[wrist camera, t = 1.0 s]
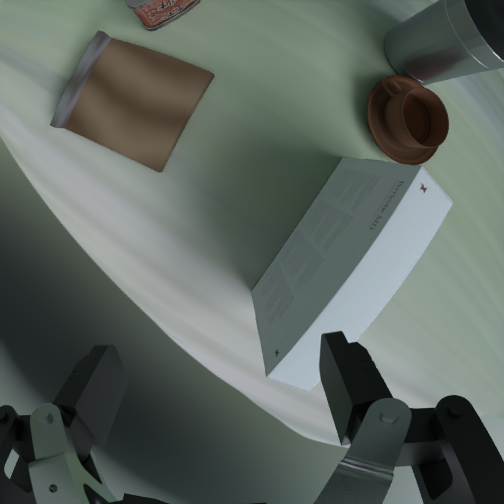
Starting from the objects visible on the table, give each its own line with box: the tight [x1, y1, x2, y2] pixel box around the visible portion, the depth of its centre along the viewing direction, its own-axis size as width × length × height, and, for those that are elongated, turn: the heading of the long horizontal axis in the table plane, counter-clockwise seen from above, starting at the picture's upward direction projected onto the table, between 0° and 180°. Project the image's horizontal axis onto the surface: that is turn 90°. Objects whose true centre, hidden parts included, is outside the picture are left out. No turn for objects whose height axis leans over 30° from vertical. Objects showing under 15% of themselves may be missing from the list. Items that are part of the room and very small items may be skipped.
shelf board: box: [50, 31, 214, 172], centre depth 27 cm, size 13×17×4 cm
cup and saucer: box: [367, 76, 449, 165], centre depth 28 cm, size 12×12×6 cm
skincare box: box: [251, 157, 453, 391], centre depth 28 cm, size 21×5×16 cm, turn 147°
